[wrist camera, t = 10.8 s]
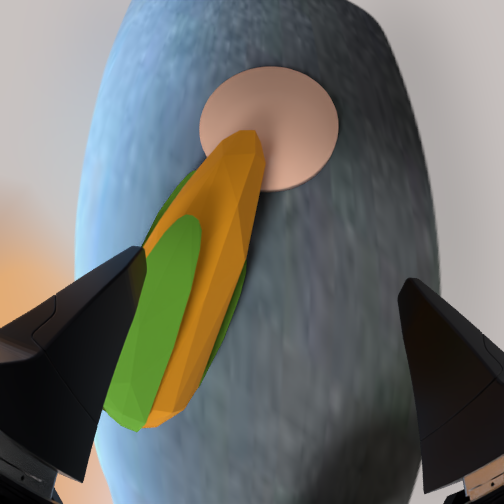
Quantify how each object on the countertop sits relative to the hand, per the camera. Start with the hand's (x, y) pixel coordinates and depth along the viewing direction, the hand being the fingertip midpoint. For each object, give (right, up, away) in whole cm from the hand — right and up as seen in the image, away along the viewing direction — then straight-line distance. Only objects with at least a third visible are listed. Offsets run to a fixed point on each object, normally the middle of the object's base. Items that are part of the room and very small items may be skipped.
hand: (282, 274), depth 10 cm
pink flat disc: (0, +9, +9) cm, 13 cm away
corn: (-5, -1, +10) cm, 12 cm away
